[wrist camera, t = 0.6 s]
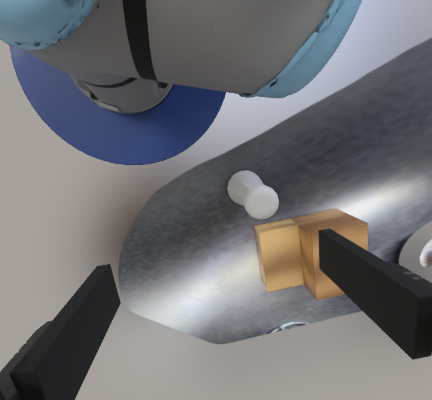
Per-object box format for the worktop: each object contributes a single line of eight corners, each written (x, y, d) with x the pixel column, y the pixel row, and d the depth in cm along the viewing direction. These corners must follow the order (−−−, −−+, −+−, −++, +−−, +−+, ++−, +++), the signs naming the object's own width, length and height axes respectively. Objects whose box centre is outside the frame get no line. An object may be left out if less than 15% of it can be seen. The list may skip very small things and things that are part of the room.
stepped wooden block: (253, 225, 42) (267, 244, 34) (336, 208, 42) (367, 223, 35) (262, 281, 45) (276, 310, 37) (338, 264, 45) (368, 289, 38)
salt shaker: (234, 206, 40) (252, 235, 28) (219, 179, 39) (231, 196, 26) (263, 191, 40) (294, 212, 28) (249, 162, 39) (275, 172, 26)
